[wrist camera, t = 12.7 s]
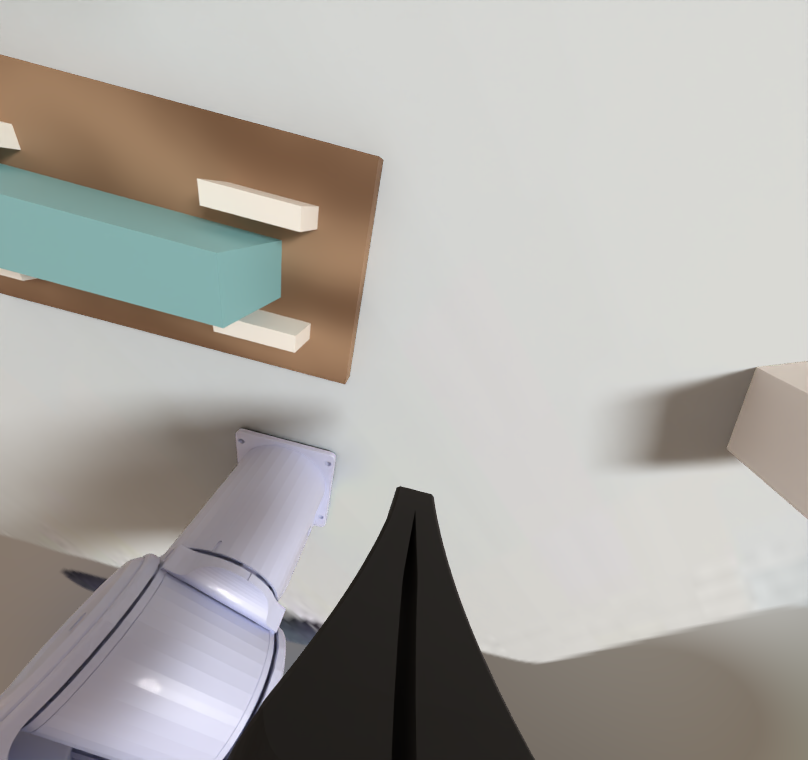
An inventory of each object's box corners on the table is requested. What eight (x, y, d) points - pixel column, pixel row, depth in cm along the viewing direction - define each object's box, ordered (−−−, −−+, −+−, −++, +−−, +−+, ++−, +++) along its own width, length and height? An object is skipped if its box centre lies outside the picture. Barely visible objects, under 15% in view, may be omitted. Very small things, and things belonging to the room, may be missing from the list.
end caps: (309, 338, 18) (294, 352, 16) (1, 257, 18) (-47, 262, 16) (318, 206, 14) (301, 206, 13) (-67, 103, 14) (-138, 88, 12)
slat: (280, 297, 17) (223, 328, 12) (1, 221, 17) (-155, 226, 12) (281, 240, 15) (216, 253, 11) (-26, 156, 15) (-215, 135, 11)
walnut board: (349, 376, 20) (345, 384, 19) (-2, 283, 20) (-22, 287, 19) (383, 159, 14) (379, 156, 13) (-124, 23, 14) (-162, 10, 13)
